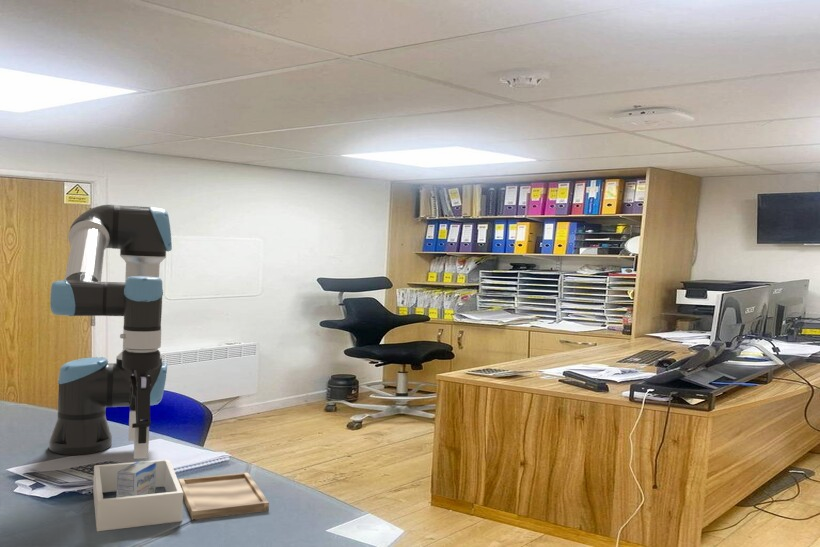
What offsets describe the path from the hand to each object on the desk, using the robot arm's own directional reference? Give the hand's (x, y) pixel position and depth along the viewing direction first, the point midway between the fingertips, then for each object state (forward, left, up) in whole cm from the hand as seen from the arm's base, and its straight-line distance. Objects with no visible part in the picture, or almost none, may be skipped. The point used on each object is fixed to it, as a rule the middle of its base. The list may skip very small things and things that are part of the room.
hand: (137, 448), depth 150 cm
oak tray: (+1, +18, -13) cm, 22 cm away
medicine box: (0, 0, -13) cm, 13 cm away
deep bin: (0, 0, -13) cm, 13 cm away
